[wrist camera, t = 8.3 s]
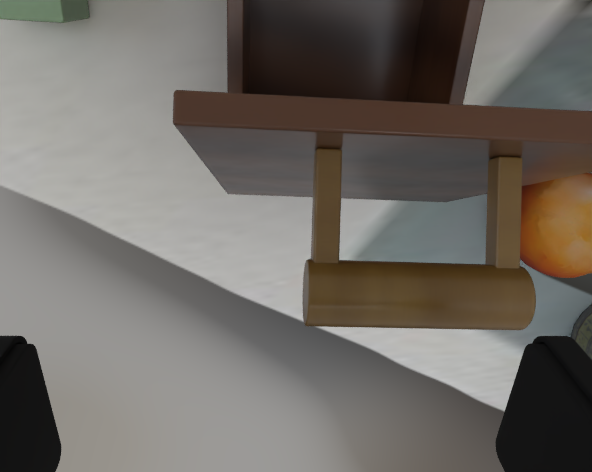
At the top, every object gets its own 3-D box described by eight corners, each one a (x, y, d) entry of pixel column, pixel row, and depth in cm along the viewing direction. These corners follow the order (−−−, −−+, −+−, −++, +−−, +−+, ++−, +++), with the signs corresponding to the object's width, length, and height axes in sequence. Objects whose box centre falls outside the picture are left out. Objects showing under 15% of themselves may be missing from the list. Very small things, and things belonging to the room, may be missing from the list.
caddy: (238, -122, 28) (226, -163, 20) (449, -105, 29) (514, -138, 21) (237, 140, 35) (228, 183, 28) (407, 147, 36) (444, 192, 28)
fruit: (464, 252, 39) (540, 253, 31) (495, 163, 40) (576, 143, 32) (540, 288, 41) (629, 298, 33) (569, 203, 42) (661, 193, 34)
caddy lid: (172, 88, 11) (164, 340, 11) (704, 115, 12) (699, 349, 12) (227, 179, 27) (224, 279, 27) (446, 188, 28) (444, 285, 28)
